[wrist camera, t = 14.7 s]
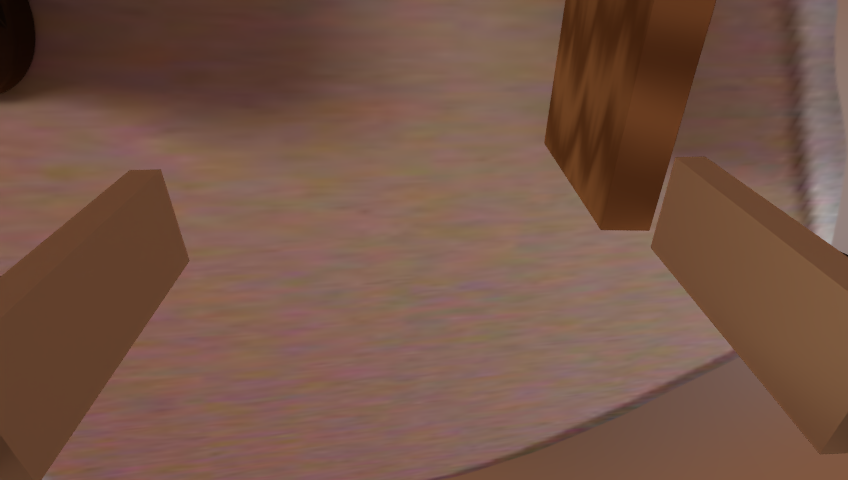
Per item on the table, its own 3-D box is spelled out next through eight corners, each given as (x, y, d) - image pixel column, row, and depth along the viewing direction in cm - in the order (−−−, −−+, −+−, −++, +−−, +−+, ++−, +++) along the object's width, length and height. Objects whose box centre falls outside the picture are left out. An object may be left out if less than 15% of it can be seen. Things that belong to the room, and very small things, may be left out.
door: (592, 143, 44) (671, 230, 30) (544, 143, 44) (600, 229, 30) (652, -153, 33) (818, -231, 19) (588, -155, 33) (708, -234, 19)
